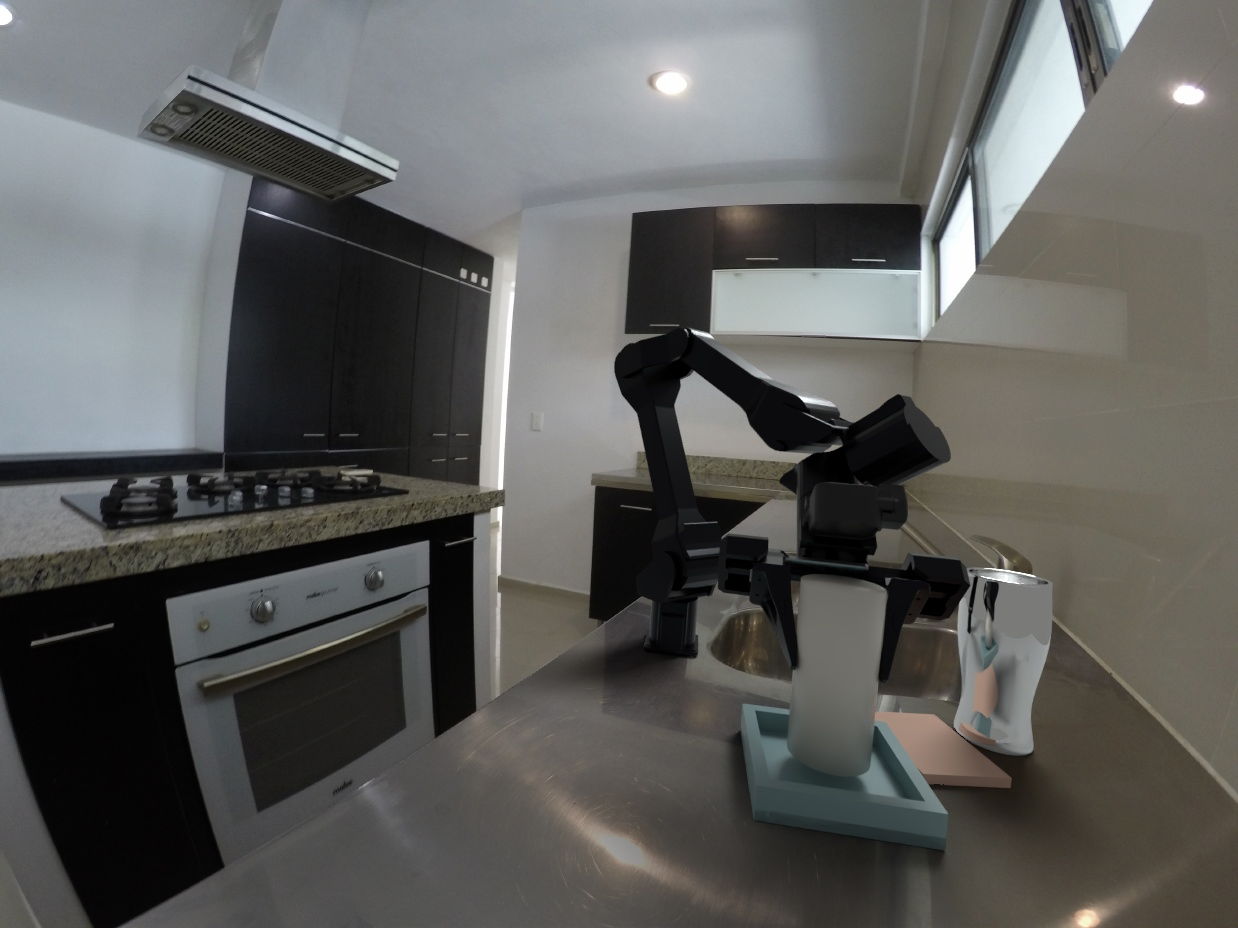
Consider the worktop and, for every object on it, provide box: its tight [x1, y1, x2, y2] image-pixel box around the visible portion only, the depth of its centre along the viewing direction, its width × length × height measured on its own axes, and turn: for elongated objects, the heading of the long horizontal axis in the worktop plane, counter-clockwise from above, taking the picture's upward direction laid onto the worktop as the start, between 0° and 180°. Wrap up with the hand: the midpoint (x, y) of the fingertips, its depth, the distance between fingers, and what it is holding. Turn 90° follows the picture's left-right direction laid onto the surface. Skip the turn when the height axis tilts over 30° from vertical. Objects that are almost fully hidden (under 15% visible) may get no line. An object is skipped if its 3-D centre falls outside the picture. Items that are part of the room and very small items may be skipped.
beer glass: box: [953, 566, 1054, 757], centre depth 50 cm, size 7×7×15 cm
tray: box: [739, 703, 949, 852], centre depth 42 cm, size 12×12×2 cm
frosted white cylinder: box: [787, 574, 887, 777], centre depth 42 cm, size 6×6×13 cm
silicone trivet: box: [875, 710, 1012, 789], centre depth 48 cm, size 10×7×1 cm
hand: (837, 674), depth 41 cm, fingers closed on frosted white cylinder, 6 cm apart
